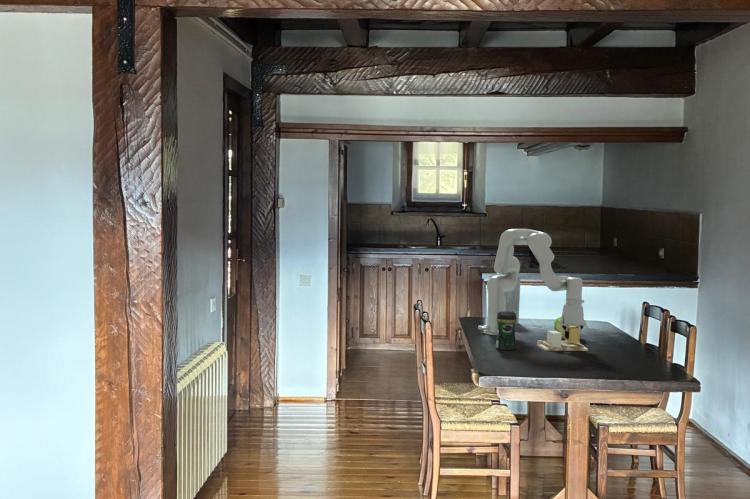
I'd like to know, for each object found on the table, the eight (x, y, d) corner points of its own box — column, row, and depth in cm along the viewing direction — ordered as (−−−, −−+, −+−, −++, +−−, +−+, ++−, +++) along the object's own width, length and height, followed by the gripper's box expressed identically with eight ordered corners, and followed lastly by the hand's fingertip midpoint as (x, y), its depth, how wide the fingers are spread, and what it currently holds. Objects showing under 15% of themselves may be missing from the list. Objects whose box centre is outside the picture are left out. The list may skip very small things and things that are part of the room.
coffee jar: (513, 347, 378) (515, 310, 377) (516, 350, 371) (518, 313, 369) (494, 346, 379) (495, 309, 377) (496, 350, 371) (498, 312, 369)
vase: (519, 324, 446) (521, 278, 443) (502, 324, 446) (504, 278, 444) (516, 321, 456) (518, 276, 453) (500, 321, 456) (502, 276, 454)
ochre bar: (564, 339, 384) (565, 325, 384) (573, 339, 385) (573, 325, 384) (570, 342, 376) (571, 328, 376) (579, 342, 377) (579, 328, 376)
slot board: (544, 350, 374) (545, 345, 374) (536, 345, 386) (537, 340, 385) (587, 350, 376) (588, 345, 376) (578, 345, 388) (579, 340, 388)
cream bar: (546, 344, 384) (547, 330, 383) (555, 344, 384) (555, 330, 384) (552, 347, 376) (552, 333, 375) (561, 347, 376) (561, 333, 376)
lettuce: (557, 332, 393) (580, 318, 392) (547, 319, 415) (570, 307, 414) (568, 352, 396) (592, 339, 394) (559, 339, 417) (581, 327, 416)
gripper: (587, 301, 384) (585, 337, 385) (554, 301, 382) (553, 337, 383) (592, 303, 376) (591, 340, 378) (559, 303, 374) (558, 340, 376)
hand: (571, 338), depth 380 cm, fingers closed on ochre bar, 4 cm apart
